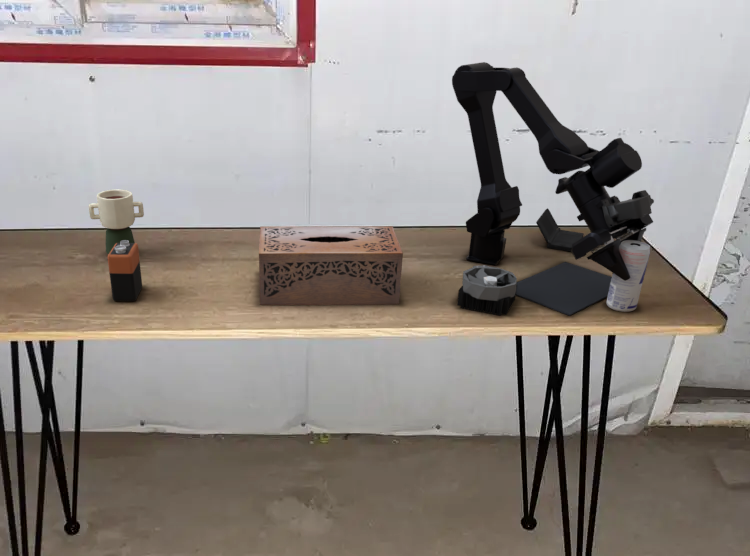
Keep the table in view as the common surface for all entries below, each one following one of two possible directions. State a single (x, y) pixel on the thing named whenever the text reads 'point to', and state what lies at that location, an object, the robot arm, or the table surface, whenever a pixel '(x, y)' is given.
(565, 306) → the mouse pad
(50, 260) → the table surface
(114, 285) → the battery
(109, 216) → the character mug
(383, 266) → the tissue box cover
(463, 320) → the table surface
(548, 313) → the table surface
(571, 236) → the handheld gaming console
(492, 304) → the cpu cooler
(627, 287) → the energy drink
